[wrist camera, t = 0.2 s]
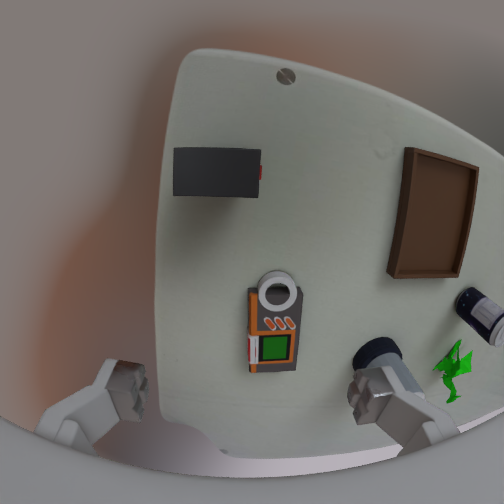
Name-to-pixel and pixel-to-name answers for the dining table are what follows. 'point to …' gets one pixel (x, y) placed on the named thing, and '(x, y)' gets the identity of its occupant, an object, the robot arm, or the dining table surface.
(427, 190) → the tray
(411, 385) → the humidifier
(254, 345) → the electronic device
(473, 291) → the beverage can
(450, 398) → the figurine
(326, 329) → the dining table surface
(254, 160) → the tall dark grey prism
